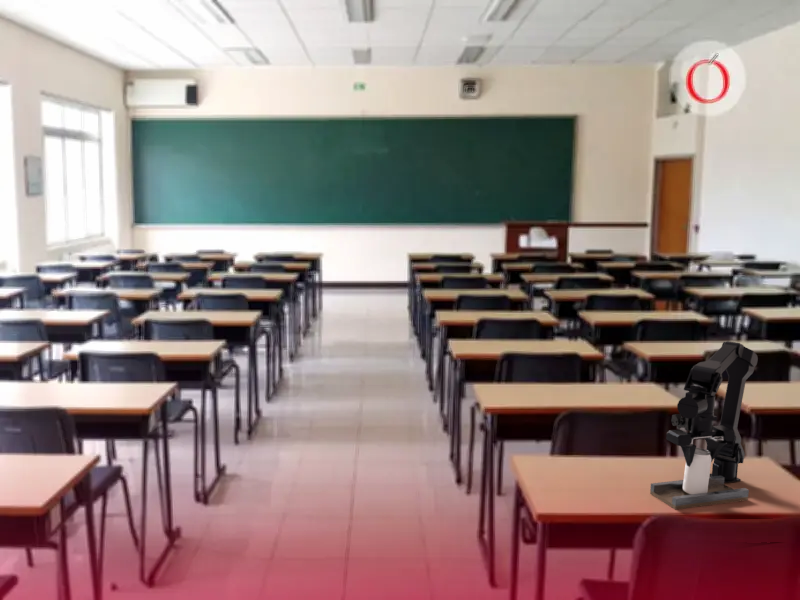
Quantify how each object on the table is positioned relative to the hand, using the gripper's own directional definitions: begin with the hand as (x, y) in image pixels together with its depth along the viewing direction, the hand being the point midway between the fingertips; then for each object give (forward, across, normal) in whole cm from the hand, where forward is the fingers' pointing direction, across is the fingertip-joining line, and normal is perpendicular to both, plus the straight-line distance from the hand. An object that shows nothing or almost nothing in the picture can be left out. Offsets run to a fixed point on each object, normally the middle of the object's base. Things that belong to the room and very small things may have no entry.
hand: (698, 465), depth 209 cm
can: (+8, 0, 0) cm, 8 cm away
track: (+9, -1, 0) cm, 9 cm away
